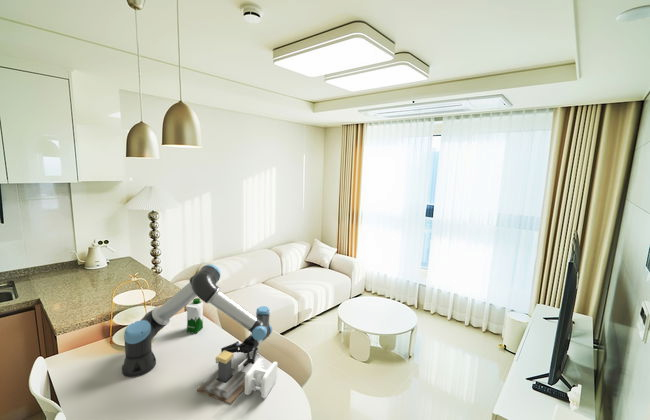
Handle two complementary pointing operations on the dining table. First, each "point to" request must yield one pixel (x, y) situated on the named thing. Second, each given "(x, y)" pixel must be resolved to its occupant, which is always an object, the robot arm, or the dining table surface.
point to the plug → (224, 366)
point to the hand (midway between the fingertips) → (227, 364)
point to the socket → (224, 386)
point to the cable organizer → (260, 378)
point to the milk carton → (194, 316)
